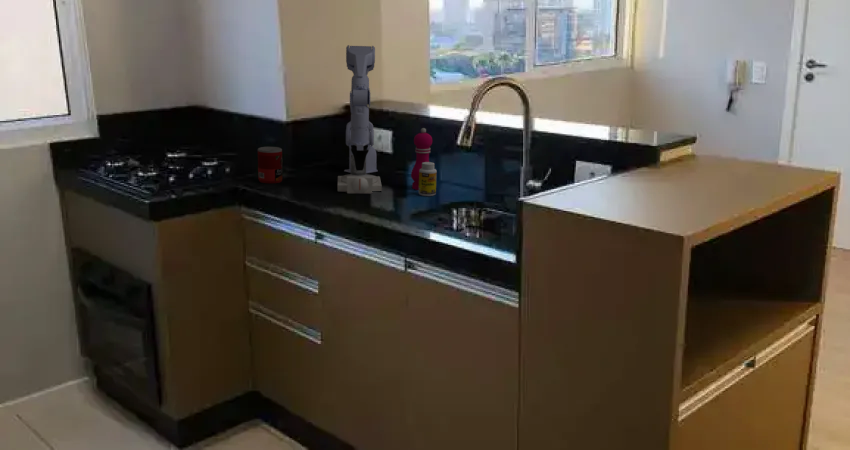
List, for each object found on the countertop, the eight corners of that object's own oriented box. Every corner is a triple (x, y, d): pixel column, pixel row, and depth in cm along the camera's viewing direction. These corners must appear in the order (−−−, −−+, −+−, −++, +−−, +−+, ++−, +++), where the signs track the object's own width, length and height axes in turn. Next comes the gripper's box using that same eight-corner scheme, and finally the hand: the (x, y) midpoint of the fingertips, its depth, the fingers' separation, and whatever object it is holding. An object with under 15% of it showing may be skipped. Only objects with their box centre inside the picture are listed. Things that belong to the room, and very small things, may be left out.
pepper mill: (430, 191, 264) (432, 130, 259) (408, 190, 265) (410, 128, 260) (434, 187, 271) (436, 127, 265) (413, 185, 272) (414, 125, 267)
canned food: (280, 184, 268) (279, 151, 265) (256, 183, 268) (255, 150, 265) (284, 179, 275) (284, 147, 272) (261, 178, 275) (260, 146, 272)
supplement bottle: (418, 196, 257) (419, 164, 254) (418, 192, 263) (419, 161, 260) (436, 196, 257) (437, 165, 255) (435, 192, 263) (436, 161, 260)
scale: (337, 181, 274) (338, 166, 272) (379, 182, 275) (379, 166, 274) (337, 193, 258) (337, 177, 256) (381, 193, 259) (382, 177, 258)
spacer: (359, 171, 270) (359, 153, 268) (369, 174, 266) (369, 156, 265) (347, 173, 267) (347, 155, 265) (356, 176, 263) (356, 157, 261)
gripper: (347, 123, 269) (347, 163, 273) (347, 130, 255) (347, 172, 259) (368, 123, 270) (368, 164, 273) (370, 130, 256) (369, 173, 259)
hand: (359, 168), depth 266 cm, fingers closed on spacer, 5 cm apart
